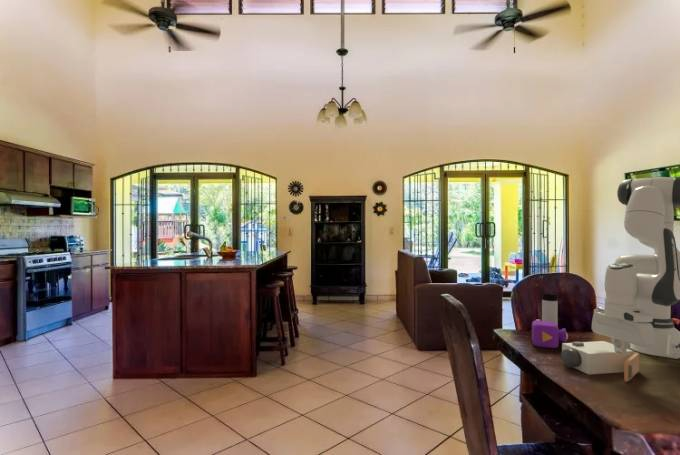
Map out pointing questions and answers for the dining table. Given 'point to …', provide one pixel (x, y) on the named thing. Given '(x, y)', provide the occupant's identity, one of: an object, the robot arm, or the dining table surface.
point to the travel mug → (550, 308)
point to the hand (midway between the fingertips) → (620, 353)
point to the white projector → (594, 357)
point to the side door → (631, 366)
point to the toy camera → (547, 334)
